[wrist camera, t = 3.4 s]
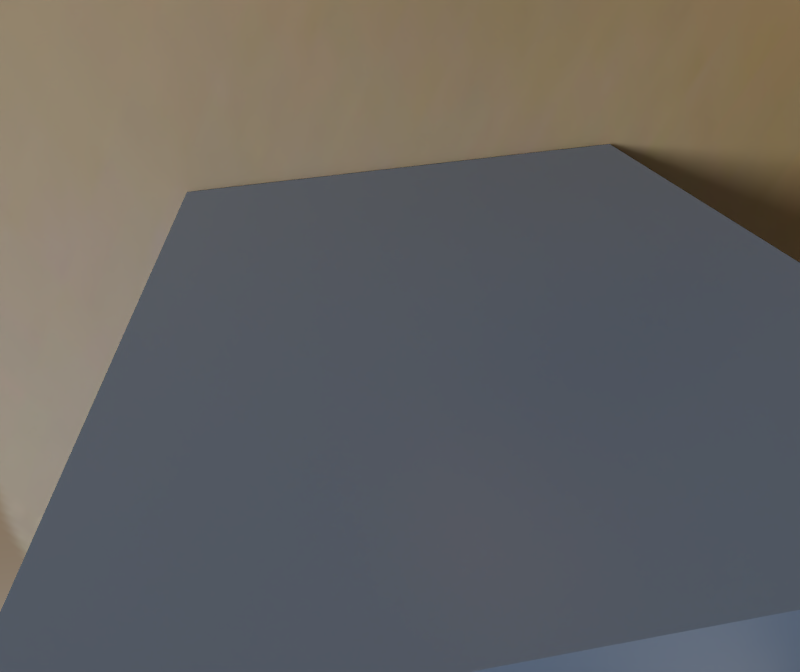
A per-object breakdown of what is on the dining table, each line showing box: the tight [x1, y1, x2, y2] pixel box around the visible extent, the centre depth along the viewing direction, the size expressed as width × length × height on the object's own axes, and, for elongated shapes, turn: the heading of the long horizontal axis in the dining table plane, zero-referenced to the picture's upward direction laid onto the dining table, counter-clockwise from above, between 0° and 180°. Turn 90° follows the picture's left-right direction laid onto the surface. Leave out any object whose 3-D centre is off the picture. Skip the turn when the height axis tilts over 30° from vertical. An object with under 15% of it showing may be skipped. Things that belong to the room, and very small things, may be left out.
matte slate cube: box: [0, 144, 800, 672], centre depth 9 cm, size 8×8×9 cm
